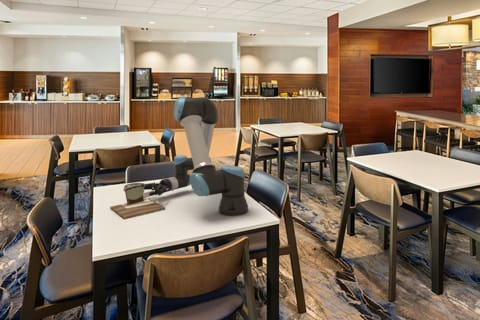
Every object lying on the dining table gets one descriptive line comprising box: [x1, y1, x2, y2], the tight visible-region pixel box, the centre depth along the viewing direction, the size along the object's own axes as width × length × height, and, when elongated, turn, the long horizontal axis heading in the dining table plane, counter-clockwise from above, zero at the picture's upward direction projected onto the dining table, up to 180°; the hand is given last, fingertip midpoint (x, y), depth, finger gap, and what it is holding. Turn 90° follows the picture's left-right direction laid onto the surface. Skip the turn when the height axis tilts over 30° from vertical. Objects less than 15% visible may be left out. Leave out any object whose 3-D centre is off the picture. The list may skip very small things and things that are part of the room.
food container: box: [123, 182, 146, 205], centre depth 196 cm, size 12×6×10 cm, turn 137°
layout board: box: [109, 197, 166, 220], centre depth 190 cm, size 20×22×1 cm
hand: (136, 193), depth 194 cm, fingers open, 13 cm apart
